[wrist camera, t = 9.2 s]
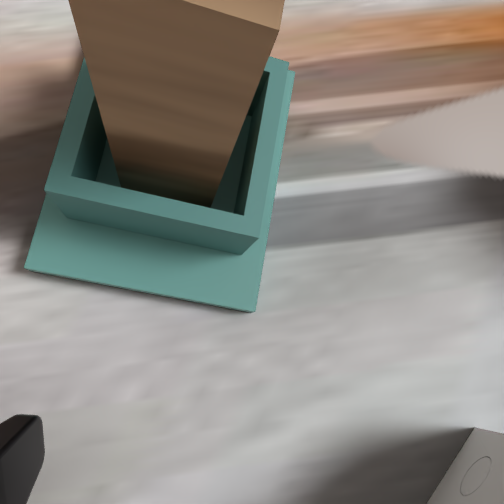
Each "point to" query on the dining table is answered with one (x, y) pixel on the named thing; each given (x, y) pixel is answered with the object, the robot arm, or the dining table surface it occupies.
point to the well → (163, 210)
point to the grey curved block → (475, 472)
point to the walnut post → (175, 85)
